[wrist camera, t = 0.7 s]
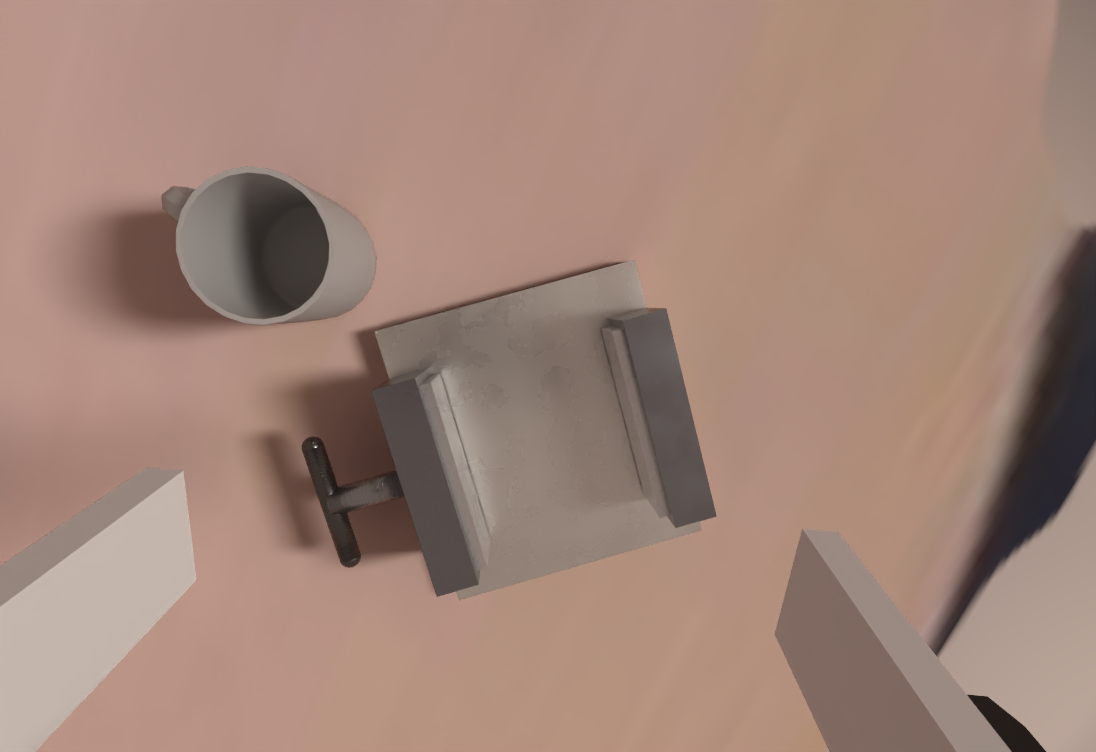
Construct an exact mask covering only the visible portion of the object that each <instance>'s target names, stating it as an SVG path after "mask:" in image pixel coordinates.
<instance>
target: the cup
mask: <svg viewBox="0 0 1096 752" xmlns="http://www.w3.org/2000/svg"><path fill="white" fill-rule="evenodd" d="M162 208H163V209H164V210H165V211H166V212H167V213H168V214H169V215H170V216H171V217H173V218H174V219H175V220H176V221H177V222H178V224H177V228H176V253H177V257H178V260H179V264H180V268H181V271H182V273H183V275H184V277H185V278H186V280H187V282H188V284H189V286H190V287H191V289H192V290H193V291H194V292H195V294H196V295H197V296H198V297H199V298H200V299H201V300H202V301H203V302H204V303H205V304H206V305H207V306H209V307H210V308H212V309H213V310H215V311H216V312H218V313H220V314H221V315H223V316H224V317H227V318H230V319H233V320H236V321H239V322H242V323H248V324H260V325H269V324H280V323H291V322H302V321H313V320H322V319H327V318H333V317H337V316H339V315H341V314H343V313H345V312H348V311H350V310H352V309H353V308H354V307H355V306H356V305H357V304H359V303H360V302H361V301H362V300H363V299H364V297H365V296H366V294H367V293H368V291H369V290H370V288H371V286H372V283H373V280H374V276H375V273H376V254H375V249H374V245H373V241H372V239H371V237H370V235H369V234H368V232H367V230H366V228H365V227H364V226H363V224H362V223H361V222H360V221H359V220H358V219H357V218H356V217H355V216H354V215H353V214H352V213H351V212H349V211H348V210H346V209H345V208H343V207H342V206H340V205H339V204H337V203H335V202H334V201H332V200H330V199H328V198H327V197H325V196H323V195H321V194H320V193H318V192H316V191H314V190H312V189H311V188H309V187H307V186H305V185H304V184H302V183H300V182H298V181H297V180H295V179H293V178H291V177H289V176H287V175H285V174H282V173H279V172H276V171H274V170H271V169H268V168H257V167H241V168H235V169H230V170H225V171H223V172H221V173H219V174H217V175H215V176H213V177H211V178H209V179H207V180H206V181H205V182H204V183H203V184H201V185H200V186H199V187H198V188H197V189H196V190H195V189H191V188H187V187H177V186H173V187H171V188H170V189H169V190H167V191H166V192H165V193H164V194H162Z"/></svg>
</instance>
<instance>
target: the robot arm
mask: <svg viewBox="0 0 1096 752" xmlns="http://www.w3.org/2000/svg"><path fill="white" fill-rule="evenodd" d="M195 581H196V572H195V564H194V556H193V547H192V539H191V531H190V522H189V514H188V506H187V497H186V489H185V481H184V472H183V471H182V470H171V469H160V468H150V467H147V468H145V469H144V470H142V471H141V472H139V473H138V474H136V475H135V476H133V477H132V478H130V479H129V480H127V481H126V482H124V483H123V484H121V485H120V486H118V487H117V488H116V489H114V490H113V491H111V492H110V493H108V494H107V495H105V496H104V497H102V498H101V499H99V500H98V501H96V502H95V503H93V504H92V505H90V506H89V507H87V508H86V509H84V510H83V511H81V512H80V513H78V514H77V515H75V516H74V517H72V518H71V519H69V520H68V521H66V522H65V523H63V524H62V525H60V526H59V527H57V528H56V529H54V530H53V531H51V532H50V533H48V534H47V535H45V536H44V537H42V538H41V539H40V540H38V541H37V542H35V543H34V544H32V545H31V546H29V547H28V548H26V549H25V550H23V551H22V552H20V553H19V554H17V555H16V556H14V557H13V558H11V559H10V560H8V561H7V562H5V563H4V564H2V565H1V566H0V752H35V751H36V750H37V749H38V748H39V747H40V746H41V745H42V744H43V743H44V742H45V741H46V740H47V739H48V737H49V736H50V735H51V734H52V733H53V732H54V731H55V730H56V729H57V728H58V727H59V726H60V725H61V724H62V723H63V721H64V720H65V719H66V718H67V717H68V716H69V715H70V714H71V713H72V712H73V711H74V710H75V709H76V708H77V707H78V706H79V704H80V703H81V702H82V701H83V700H84V699H85V698H86V697H87V696H88V695H89V694H90V693H91V692H92V691H93V690H94V688H95V687H96V686H97V685H98V684H99V683H100V682H101V681H102V680H103V679H104V678H105V677H106V676H107V675H108V674H109V672H110V671H111V670H112V669H113V668H114V667H115V666H116V665H117V664H118V663H119V662H120V661H121V660H122V659H123V658H124V656H125V655H126V654H127V653H128V652H129V651H130V650H131V649H132V648H133V647H134V646H135V645H136V644H137V643H138V642H139V641H140V639H141V638H142V637H143V636H144V635H145V634H146V633H147V632H148V631H149V630H150V629H151V628H152V627H153V626H154V625H155V623H156V622H157V621H158V620H159V619H160V618H161V617H162V616H163V615H164V614H165V613H166V612H167V611H168V610H169V609H170V607H171V606H172V605H173V604H174V603H175V602H176V601H177V600H178V599H179V598H180V597H181V596H182V595H183V594H184V593H185V591H186V590H187V589H188V588H189V587H190V586H191V585H192V584H193V583H194V582H195ZM775 636H776V638H777V640H778V642H779V644H780V646H781V649H782V651H783V653H784V655H785V657H786V659H787V661H788V664H789V666H790V668H791V670H792V672H793V674H794V676H795V679H796V681H797V683H798V685H799V687H800V689H801V691H802V694H803V696H804V698H805V700H806V702H807V704H808V706H809V709H810V711H811V713H812V715H813V717H814V719H815V721H816V724H817V726H818V728H819V730H820V732H821V734H822V736H823V739H824V741H825V743H826V745H827V747H828V749H829V751H830V752H1046V751H1045V750H1044V749H1043V747H1042V746H1041V745H1040V744H1039V743H1038V742H1037V740H1036V739H1035V738H1034V737H1033V736H1032V735H1031V733H1030V732H1029V731H1028V730H1027V729H1026V727H1024V726H1023V725H1022V724H1021V723H1020V722H1018V721H1017V720H1016V719H1015V718H1014V717H1012V716H1011V715H1010V714H1009V713H1007V712H1006V711H1005V710H1004V709H1002V708H1001V707H999V705H997V704H996V703H995V702H994V701H992V700H991V699H990V698H988V697H985V696H974V695H967V694H966V693H965V692H964V691H963V689H962V688H961V687H960V686H959V685H958V683H957V682H956V681H955V679H954V678H953V677H952V675H951V674H950V673H949V672H948V671H947V669H946V668H945V667H944V665H943V664H942V663H941V662H940V660H939V659H938V658H937V656H936V655H935V654H934V653H933V651H932V650H931V649H930V648H929V646H928V645H927V644H926V643H925V641H924V640H923V639H922V637H921V636H920V635H919V634H918V632H917V631H916V630H915V629H914V627H913V626H912V625H911V624H910V622H909V621H908V620H907V618H906V617H905V616H904V615H903V613H902V612H901V611H900V610H899V608H898V607H897V606H896V605H895V603H894V602H893V601H892V599H891V598H890V597H889V596H888V594H887V593H886V592H885V591H884V589H883V588H882V587H881V585H880V584H879V583H878V582H877V580H876V579H875V578H874V577H873V575H872V574H871V573H870V572H869V570H868V569H867V568H866V566H865V565H864V564H863V563H862V561H861V560H860V559H859V558H858V556H857V555H856V554H855V553H854V551H853V550H852V549H851V547H850V546H849V545H848V544H847V542H846V541H845V540H844V539H843V537H842V536H841V535H840V534H839V532H831V531H820V530H810V529H802V532H801V536H800V540H799V543H798V547H797V551H796V555H795V559H794V563H793V566H792V570H791V574H790V578H789V582H788V585H787V589H786V593H785V597H784V601H783V605H782V608H781V612H780V616H779V620H778V624H777V627H776V631H775Z"/></svg>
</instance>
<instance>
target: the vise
mask: <svg viewBox="0 0 1096 752" xmlns="http://www.w3.org/2000/svg"><path fill="white" fill-rule="evenodd" d="M374 332H375V336H376V339H377V342H378V345H379V348H380V351H381V355H382V358H383V361H384V364H385V367H386V370H387V374H388V377H389V380H387V381H385V382H384V383H382V384H381V385H379V386H377V387H376V388H374V389H373V390H371V393H372V396H373V399H374V402H375V405H376V408H377V411H378V415H379V418H380V421H381V424H382V427H383V430H384V433H385V436H386V440H387V443H388V446H389V449H390V452H391V455H392V458H393V461H394V464H395V468H396V471H393V472H389V473H386V474H382V475H378V476H375V477H371V478H368V479H364V480H361V481H357V482H354V483H350V484H346V485H343V486H339V487H338V485H337V482H336V479H335V476H334V473H333V470H332V467H331V464H330V461H329V458H328V455H327V452H326V449H325V446H324V443H323V441H322V440H321V439H320V438H318V437H309V438H307V439H306V440H305V441H304V442H303V444H302V451H303V454H304V457H305V460H306V463H307V466H308V469H309V472H310V475H311V478H312V481H313V483H314V486H315V489H316V492H317V495H318V498H319V501H320V504H321V507H322V510H323V513H324V516H325V518H326V521H327V524H328V527H329V530H330V533H331V536H332V539H333V542H334V545H335V548H336V551H337V553H338V556H339V559H340V562H341V564H342V565H343V566H345V567H348V568H350V567H354V566H356V565H357V564H358V563H359V561H360V559H361V554H360V550H359V547H358V544H357V541H356V538H355V535H354V532H353V530H352V527H351V524H350V521H349V518H348V515H347V513H348V512H351V511H355V510H358V509H362V508H366V507H369V506H373V505H376V504H380V503H383V502H387V501H390V500H394V499H397V498H401V497H404V496H405V499H406V502H407V505H408V508H409V511H410V514H411V517H412V521H413V524H414V527H415V530H416V533H417V536H418V539H419V542H420V546H421V549H422V552H423V555H424V558H425V561H426V564H427V567H428V571H429V574H430V577H431V580H432V583H433V586H434V589H435V592H436V595H437V597H438V596H441V595H445V594H448V593H452V592H455V591H456V592H457V596H458V599H459V600H461V599H465V598H468V597H472V596H475V595H479V594H482V593H486V592H489V591H493V590H496V589H500V588H503V587H507V586H510V585H513V584H517V583H520V582H524V581H527V580H531V579H534V578H538V577H541V576H545V575H548V574H552V573H555V572H559V571H562V570H566V569H569V568H573V567H576V566H579V565H583V564H586V563H590V562H593V561H597V560H600V559H604V558H607V557H611V556H614V555H618V554H621V553H625V552H628V551H632V550H635V549H639V548H642V547H645V546H649V545H652V544H656V543H659V542H663V541H666V540H670V539H673V538H677V537H680V536H684V535H687V534H691V533H694V532H698V531H701V526H700V522H699V521H702V520H706V519H709V518H713V517H716V512H715V508H714V504H713V500H712V496H711V492H710V487H709V483H708V479H707V475H706V471H705V467H704V463H703V459H702V454H701V450H700V446H699V442H698V438H697V434H696V430H695V426H694V421H693V417H692V413H691V409H690V405H689V401H688V397H687V393H686V388H685V384H684V380H683V376H682V372H681V368H680V364H679V360H678V355H677V351H676V347H675V343H674V339H673V335H672V331H671V327H670V322H669V318H668V314H667V310H666V308H647V307H646V303H645V299H644V295H643V291H642V287H641V283H640V279H639V275H638V271H637V267H636V263H635V260H631V261H628V262H624V263H620V264H617V265H613V266H610V267H606V268H602V269H599V270H595V271H591V272H588V273H584V274H581V275H577V276H573V277H570V278H566V279H562V280H559V281H555V282H551V283H548V284H544V285H541V286H537V287H533V288H530V289H526V290H522V291H519V292H515V293H512V294H508V295H504V296H501V297H497V298H493V299H490V300H486V301H482V302H479V303H475V304H472V305H468V306H464V307H461V308H457V309H453V310H450V311H446V312H443V313H439V314H435V315H432V316H428V317H424V318H421V319H417V320H413V321H410V322H406V323H403V324H399V325H395V326H392V327H388V328H384V329H381V330H377V331H374Z"/></svg>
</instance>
